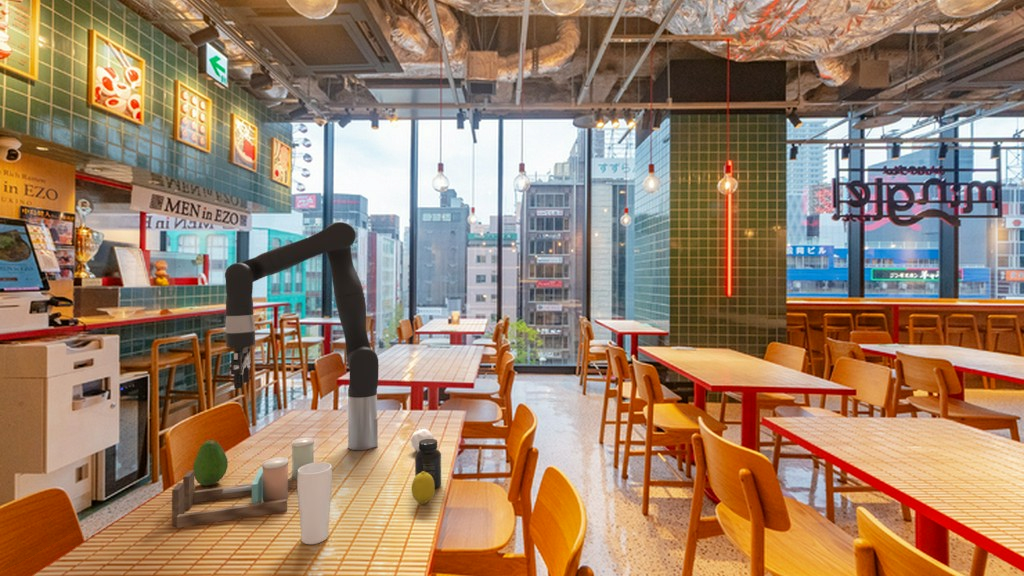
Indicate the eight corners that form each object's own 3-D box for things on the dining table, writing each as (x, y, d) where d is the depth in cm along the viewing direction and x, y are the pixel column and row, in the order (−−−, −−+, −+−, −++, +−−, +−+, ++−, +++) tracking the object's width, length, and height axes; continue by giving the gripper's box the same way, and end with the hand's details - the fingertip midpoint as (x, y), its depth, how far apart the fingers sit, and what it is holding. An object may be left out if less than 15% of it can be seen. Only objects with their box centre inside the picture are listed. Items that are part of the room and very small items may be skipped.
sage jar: (314, 470, 136) (314, 436, 136) (313, 477, 131) (313, 442, 131) (292, 473, 134) (292, 438, 134) (290, 480, 129) (290, 445, 129)
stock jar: (289, 494, 120) (289, 456, 120) (287, 503, 115) (287, 463, 115) (264, 497, 118) (264, 458, 119) (260, 507, 113) (260, 467, 113)
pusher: (264, 492, 121) (264, 467, 121) (257, 511, 111) (257, 483, 111) (228, 497, 118) (227, 472, 118) (217, 517, 108) (217, 489, 108)
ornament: (410, 455, 148) (403, 431, 152) (422, 456, 154) (415, 433, 158) (428, 445, 147) (421, 422, 151) (440, 447, 153) (433, 424, 157)
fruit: (190, 493, 121) (190, 446, 121) (195, 482, 128) (195, 438, 128) (226, 487, 125) (226, 442, 125) (228, 476, 132) (228, 434, 132)
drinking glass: (304, 531, 102) (304, 462, 102) (336, 530, 102) (336, 461, 102) (292, 548, 95) (292, 474, 95) (326, 546, 96) (326, 473, 96)
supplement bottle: (446, 483, 126) (446, 439, 126) (431, 493, 120) (431, 447, 120) (425, 479, 129) (425, 436, 129) (409, 489, 123) (409, 443, 123)
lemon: (438, 501, 116) (438, 468, 116) (427, 511, 111) (427, 477, 111) (419, 497, 118) (418, 466, 118) (407, 507, 113) (407, 474, 113)
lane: (292, 487, 125) (292, 457, 125) (286, 511, 111) (286, 477, 111) (190, 501, 117) (190, 468, 117) (170, 528, 103) (170, 492, 103)
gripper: (249, 332, 133) (251, 388, 133) (259, 328, 147) (260, 379, 147) (219, 333, 131) (221, 391, 131) (231, 329, 144) (233, 381, 144)
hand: (242, 385), depth 139 cm, fingers open, 8 cm apart
